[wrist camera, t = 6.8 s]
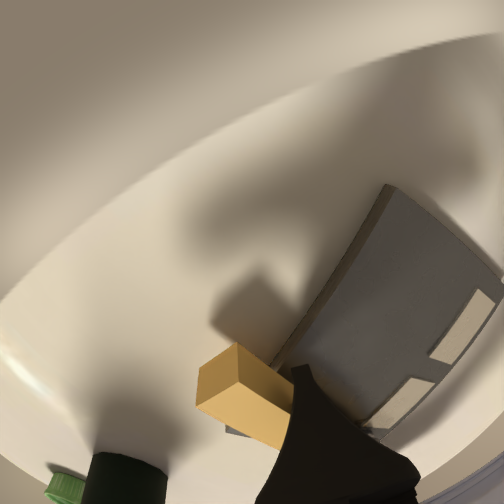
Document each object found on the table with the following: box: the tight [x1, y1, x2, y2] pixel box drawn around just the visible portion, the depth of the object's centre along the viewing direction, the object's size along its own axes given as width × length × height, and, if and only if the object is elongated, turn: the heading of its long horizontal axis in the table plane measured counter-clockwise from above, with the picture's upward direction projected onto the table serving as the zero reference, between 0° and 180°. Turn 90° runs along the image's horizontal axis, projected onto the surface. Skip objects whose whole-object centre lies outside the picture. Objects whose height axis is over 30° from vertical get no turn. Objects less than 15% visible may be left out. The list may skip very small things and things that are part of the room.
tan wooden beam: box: [195, 342, 380, 450], centre depth 14 cm, size 16×3×2 cm, turn 41°
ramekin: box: [44, 472, 86, 504], centre depth 22 cm, size 9×9×4 cm
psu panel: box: [226, 184, 504, 440], centre depth 15 cm, size 17×13×2 cm
